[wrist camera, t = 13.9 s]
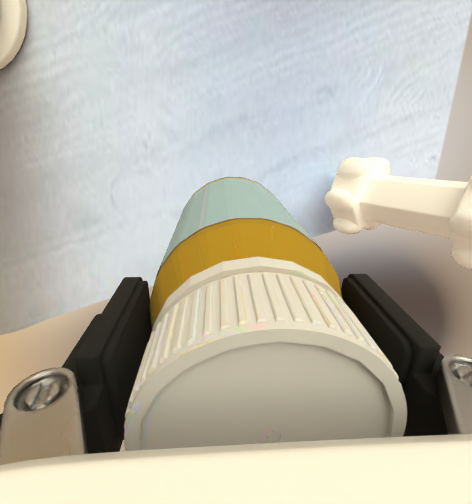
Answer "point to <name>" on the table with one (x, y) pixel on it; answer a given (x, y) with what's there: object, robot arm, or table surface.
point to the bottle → (254, 336)
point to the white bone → (401, 203)
